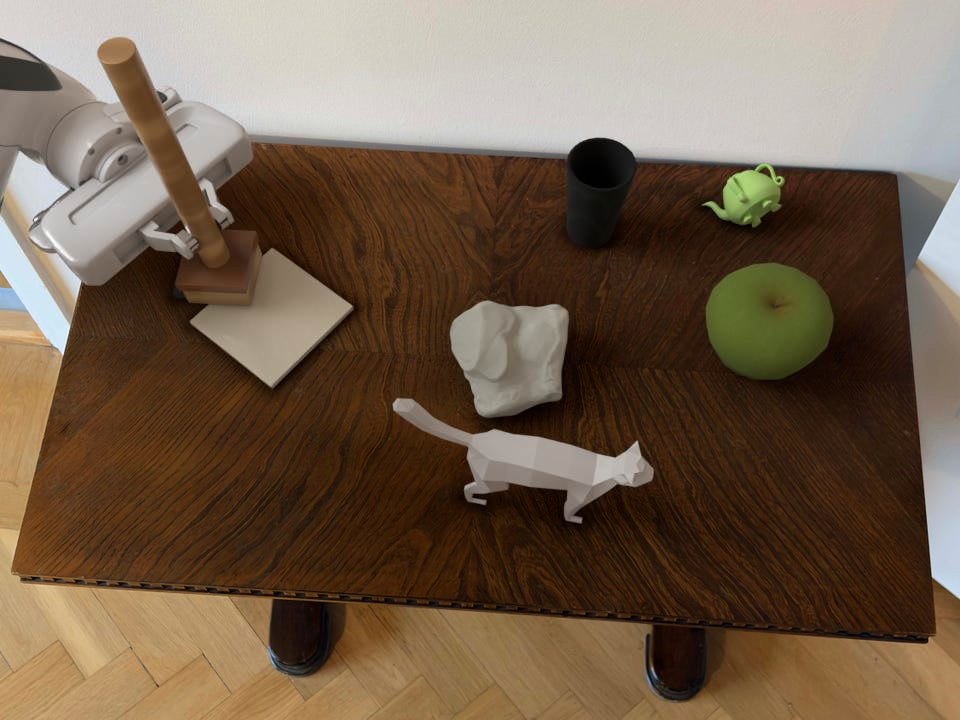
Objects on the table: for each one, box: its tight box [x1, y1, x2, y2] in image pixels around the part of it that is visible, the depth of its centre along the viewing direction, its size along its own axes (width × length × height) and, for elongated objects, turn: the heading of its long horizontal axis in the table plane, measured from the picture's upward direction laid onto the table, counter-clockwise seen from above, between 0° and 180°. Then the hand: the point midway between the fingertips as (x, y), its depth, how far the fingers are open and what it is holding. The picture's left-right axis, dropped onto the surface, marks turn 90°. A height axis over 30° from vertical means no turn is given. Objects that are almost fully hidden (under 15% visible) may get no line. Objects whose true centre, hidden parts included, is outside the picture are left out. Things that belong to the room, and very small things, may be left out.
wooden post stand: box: [96, 36, 263, 306], centre depth 70 cm, size 6×6×28 cm
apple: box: [705, 262, 834, 381], centre depth 75 cm, size 11×10×10 cm
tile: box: [189, 247, 354, 389], centre depth 81 cm, size 11×11×1 cm
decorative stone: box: [449, 300, 570, 419], centre depth 76 cm, size 11×9×10 cm
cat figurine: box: [392, 397, 655, 524], centre depth 67 cm, size 4×20×14 cm, turn 78°
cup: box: [566, 136, 638, 249], centre depth 82 cm, size 6×6×10 cm
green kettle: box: [701, 163, 786, 228], centre depth 84 cm, size 6×5×6 cm
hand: (210, 236), depth 75 cm, fingers closed on wooden post stand, 2 cm apart
